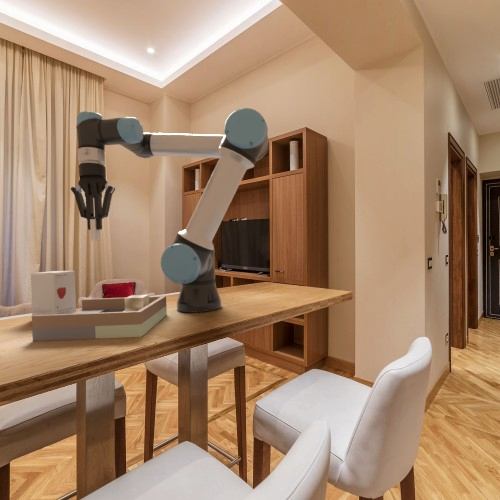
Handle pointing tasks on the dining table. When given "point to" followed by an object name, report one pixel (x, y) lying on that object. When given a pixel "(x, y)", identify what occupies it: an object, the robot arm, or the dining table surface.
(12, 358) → the dining table surface
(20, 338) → the dining table surface
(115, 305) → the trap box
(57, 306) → the supplement box
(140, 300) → the cream block
